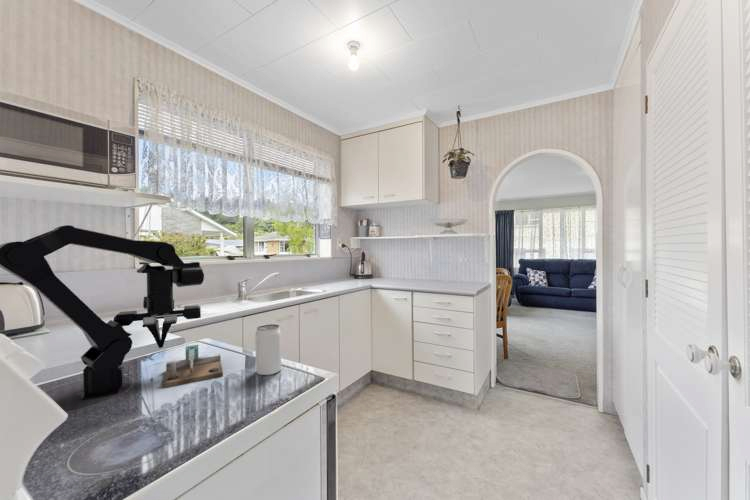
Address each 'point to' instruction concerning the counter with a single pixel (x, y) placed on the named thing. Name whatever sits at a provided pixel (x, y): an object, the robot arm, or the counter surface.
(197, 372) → the plate
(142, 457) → the counter surface
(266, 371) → the can
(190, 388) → the counter surface
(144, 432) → the counter surface
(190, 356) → the leg
